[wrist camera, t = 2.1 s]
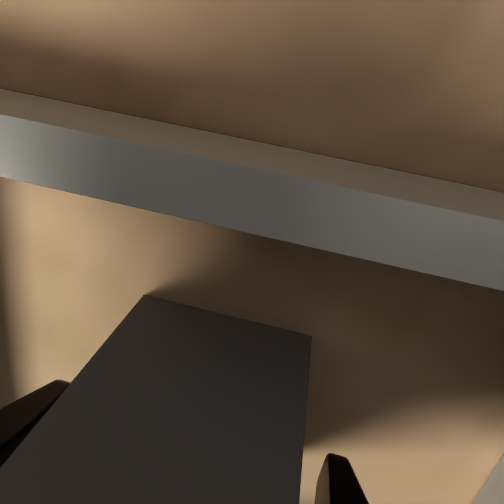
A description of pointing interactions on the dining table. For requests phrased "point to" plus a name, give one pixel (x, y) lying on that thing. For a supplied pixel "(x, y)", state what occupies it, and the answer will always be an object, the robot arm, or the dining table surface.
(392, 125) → the dining table surface
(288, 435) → the grey cube with knob
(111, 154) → the organiser
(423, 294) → the dining table surface
